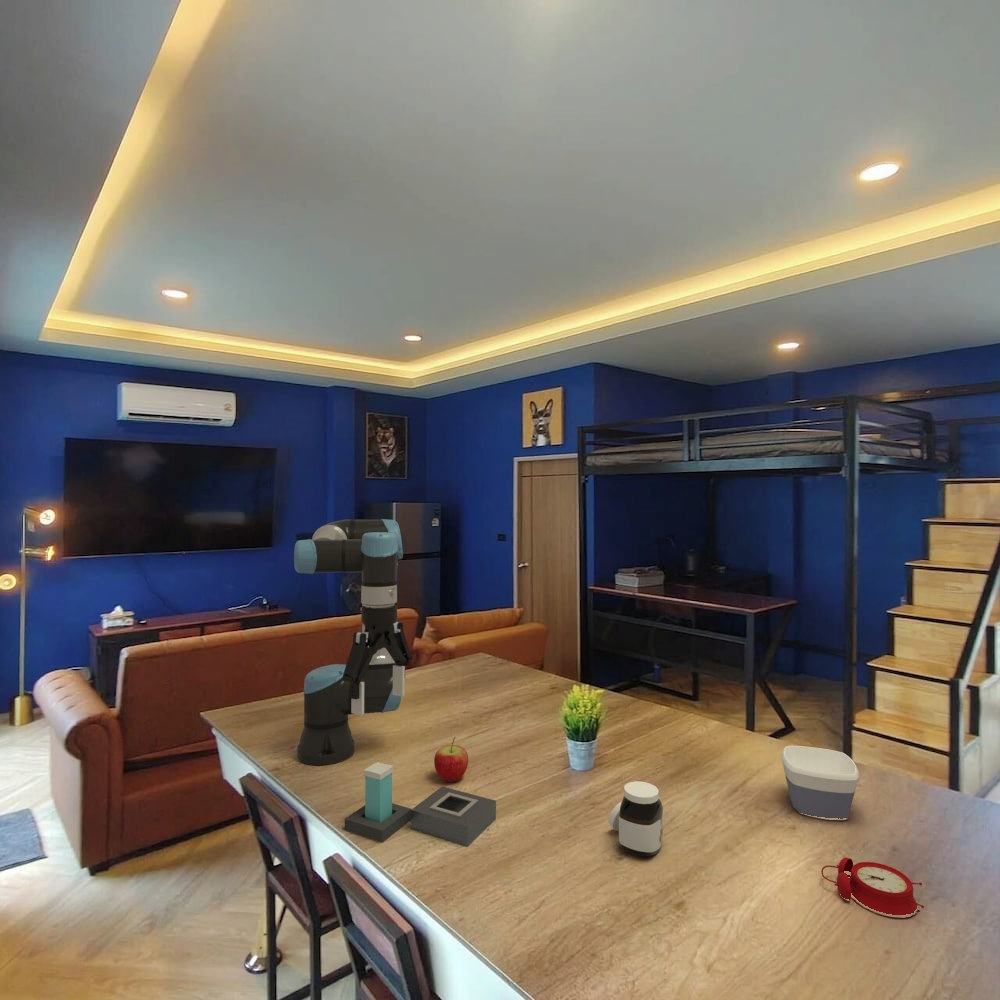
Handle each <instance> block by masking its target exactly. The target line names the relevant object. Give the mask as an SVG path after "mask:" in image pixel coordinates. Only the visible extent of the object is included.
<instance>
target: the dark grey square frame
mask: <svg viewBox="0 0 1000 1000" xmlns="http://www.w3.org/2000/svg"><path fill="white" fill-rule="evenodd" d="M411 809H412V808H410V807H408V806H404V805H401V804H397V803H393V802H392V815H391V816H390V817H388V818H387V819H385V820H384V821H383V822H381V823H379V822H376V821H373V820H370V819H366V818H365V804H364V805H363V806H361V807H360V808H358V809H357V810H355V811H354V812H352V813H351V814H349V815H348V816H346V817H345V818H344V831H345V832H346V831H347V832H349V833H353V834H356V835H359V836H362V837H364V838H368V839H371V840H373V841H376V842H380V843H384V842H385V841H387V840H388V839H390V838H391V836H393V835H394V834H395V833H397V832H398V831H399V830H400V829H402V828H403V827H405V825H407V824H408V823H409V822H411Z"/></svg>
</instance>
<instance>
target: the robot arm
mask: <svg viewBox="0 0 1000 1000" xmlns="http://www.w3.org/2000/svg"><path fill="white" fill-rule="evenodd" d="M400 529H401V528H400V526H399V523H398V522H397V520H395V519H383V518H378V519H377V518H376V519H375V518H369V519H367V518H365V519H364V518H363V519H362V518H361V519H341V520H336V521H332V522H328V523H327V524H324V525H322V526H320V527H319V528H318V529H316V530H315V532H314V533H313V535H312V538H311V539H310V538H309V539H300V540H297V541H295V542H296V543H295V545H294V552H293V555H294V556H293V562H294V563H293V565H294V570H295V571H296V573H298V574H310V575H313V574H332V573H333V574H334V573H361V591H360V592H361V593H360V595H361V597H360V602H361V604H362V607H361V608H360V609H361V611H360V613H361V614H360V616H361V618H360V619H361V624H362V625H361V626H362V627H361V628H362V629H361V632H360V631H355V632H353V636H352V638H353V639H352V644H351V649H350V652H349V655H348V658H347V662H346V664H340V663H334V664H329V665H323V666H320V667H318V668H317V667H316V668H314V669H313V670H311V671H310V672H308V673H306V675H305V678H304V686H303V688H304V689H303V699H304V700H303V705H304V706H303V708H304V709H303V711H304V712H303V720H304V721H303V728H302V729H303V730H302V734H301V735H300V739H299V743H298V745H297V748H296V757H297V760H298V761H299V762H301V763H303V764H306V765H310V766H311V765H312V766H325V765H333V764H337V763H339V762H343V761H345V760H348V759H349V758H351V757H352V756H353V755H354V754H355V751H356V750H355V748H356V747H355V740H354V738H353V735H352V731H351V729H350V725H349V715H350V716H351V715H357V716H358V715H359V716H363V715H365V714H376V713H377V714H379V713H381V714H383V713H387V712H388V713H389V712H395V711H397V710H398V709H399V708H400V706H401V702H402V698H403V697H404V696H405V693H406V692H405V689H406V688H405V684H406V683H405V679H406V667H407V666H408V667H409V666H410V662H411V661H412V659H413V657H412V653H411V650H410V647H409V644H408V641H407V637H406V635H405V632H404V623H403V622H401V621H400V622H398V606H397V605H396V604H397V602H398V587H397V585H398V581H397V580H398V565H399V560H402V559H403V558H404V557H403V556H404V553H403V541H402V534H401V530H400Z"/></svg>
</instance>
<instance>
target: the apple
mask: <svg viewBox="0 0 1000 1000" xmlns="http://www.w3.org/2000/svg"><path fill="white" fill-rule="evenodd" d="M455 738H456V736H454V737H453V738H452V739H453V740H452V744H450V745H445V746H442V747H440V748H439V749H438V750H437V751H436V752H435V754H434V760H433V761H434V762H433V763H434V768H435V771H436V774H437V775H438V777H439V778H440V779H441V780H443V781H444V782H449V783H452V782H457V781H459V780H460V779H461V778H462V777H464V775H465V774H466V771H467V769H468V765H469V755H468V751H467V750H466V749H465V748H464V747H462V746H460V745H455V744H454V741H455Z"/></svg>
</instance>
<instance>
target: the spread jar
mask: <svg viewBox="0 0 1000 1000" xmlns="http://www.w3.org/2000/svg"><path fill="white" fill-rule="evenodd" d="M623 795H624V796H623V797H622V800H621V801H619V802H618V803H617V804H616V805H615V806H614V807H613V809H612V810H611V812H610V814H609V817H608V824H609V826H610V827H611V829H613V830H614V831H617V832H618V840H619V841H618V842H619V844H620V846H621V847H622V848H623V849H624V850H625V851H627V852H628V853H630V854H632V855H634V856H638V857H645V858H646V857H652V856H655V855H656V854H658V853H659V852H660V850H661V846H662V843H663V836H664V835H663V834H664V808H663V803H662V801H661V800H660V798H659V788H657V786H656V785H654V784H652V783H649V782H645V781H639V780H637V781H630V782H627V783H626V784H624V786H623Z"/></svg>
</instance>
